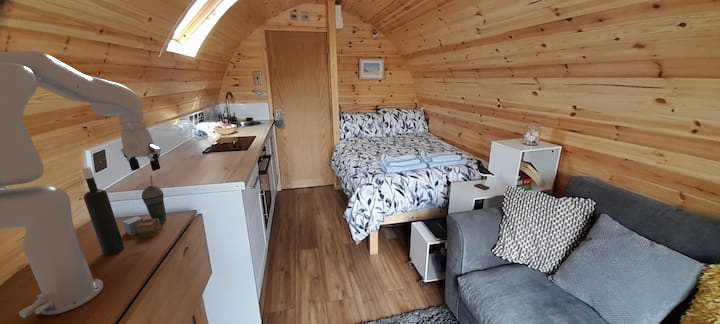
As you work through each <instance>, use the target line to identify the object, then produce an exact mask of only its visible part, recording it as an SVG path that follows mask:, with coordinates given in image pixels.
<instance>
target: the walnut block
mask: <svg viewBox="0 0 720 324" xmlns="http://www.w3.org/2000/svg"><path fill="white" fill-rule="evenodd" d="M161 224H162V223H161ZM161 224H160V221H159V218H156V219H151V218H147V219H144V221H142V222H141V223H140V224H138V225H137V228H138V232H139V233H138V235H139V237H140V238H150V237H149V236H153V237H155V236H156V235H158V234H159V233H160V232H161V231H162V230H163V229H162V225H161ZM160 230H161V231H160ZM159 231H160V232H159ZM158 232H159V233H158ZM157 233H158V234H157Z"/></svg>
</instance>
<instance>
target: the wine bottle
mask: <svg viewBox="0 0 720 324" xmlns="http://www.w3.org/2000/svg"><path fill="white" fill-rule="evenodd" d="M81 169H82V174H83V176H84V177H83V178H84V179H85V181H86V183H87V184H86V185H87V187H88V191H87V192H86V193H84V195H83V200H84V203H85V207H86V209H87V212H88V215H89V217H90V220H91V223H92V226H93V229H94V232H95V235H96V238H97V241H98V244H99V246H100V250H101V252H102V254H103V256H106V257H108V256H113V255H116V254H119V253H120V252H122V251H123V250H125V245H124V242H123V239H122V236H121V233H120V230H119V226H118V223H117V220H116V217H115V214H114V211H113V208H112V204H111V200H110V198H109V195H108V192H107V191H106V190H105V189H99V188H98V187H97V183H96V180H95V176H94V173H93V170H92V168H91V166H85V167H82V168H81Z"/></svg>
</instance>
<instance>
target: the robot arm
mask: <svg viewBox="0 0 720 324" xmlns="http://www.w3.org/2000/svg"><path fill="white" fill-rule="evenodd" d="M38 88H41V89H42V90H46V92H47V91H48V92H50V93H52V94H54V95H57V96H59V97H61V98H65V100H69V101H73V102H79V103H88V104H89V108H90V110H91V111H92V112H93V113H94V114H96V115H98V116H100V117H116V116H117V118H118V119H117V120H118V121H119V125H120V128H121V132H120V138H121V144H122V148H121V149H120V151H121V153H122V154H123V156H124V157H125V159H126V161H128V163H129V167H130V170H131V171H133V172H134V171H137V170H139V169H141V166H140V163H139V160H138V158H144V157H147V158H148V159H149V164H150V167H151V171H152V172H155V171H157V170H160V169H161V164H160V161H159V159H160V156H161V150H162V149H161V148H160V147H159V146H156V145H155V144H154V141H153V139H152V138H153V137H152V136H151V133H150V131H149V129H148V128H147V123H146V121H145V117H144V114H143V107H144V104H143V101H142V99H141V97H140V96H139V95H138V94H137V92H135V91H133V90H132V89H130V88H128V87H127V86H125V85H123V84H120V83H117V82H113V81H110V80H107V79H102V78H99V77H95V76H90V75H86V74H84V73H82V72H80V71H78V70H77V69H75V68H73V67H71V66H70V65H67V64H66V63H64V62H62V61H60V60H58V59H57V58H55V57H53V56H52V55H50V54H48V53H44V52H42V51H41V52H40V51H36V50H21V51H20V50H19V51H18V50H17V51H16V50H15V51H0V230H5V229H14V228H15V229H16V228H25V232H24V236H23V239H22V243H21V244H22V251H23V253H24V255H25V257H26V259H27V261H28V262H27V263H28V264H29V267H30V268H31V271H32V273H33V275H34V277H35V280H36V283H37V285H38V287H39V289H40V291H41V293H39V294H37V295H36V297H37V299H36V300H35V301H33V302H34V303H31V304H30V305H28V306H27V307H25V308H23V309H22V310H20V311H19V312H18V315H19V316H20V317H21V318H23V319H25V318H27V317H29V316H30V315H32V314H34V313H35V314H36V315H39V314H41V315H44V316H46V315H47V316H53V315H58V314H62V313H66V312H68V311H71V310H73V309H76V308H78V307H80V306H82V305H84V304H87V302H89V301H91V300H92V299H94V298H95V297H96V296H97V295H99V293H100V292H101V291H102V290H103V288H104V283H103V280H101V279H99V278H94V277H93V274H92V272H91V270H90V267H89V265H88V262H87V259H86V256H85V253H84V251H83V248H82V245H81V243H80V239H79V238H78V237H79V236H78V234H77V232H76V231H77V230H76V229H75V225H74V221H73V217H72V205H71V204H72V203H71V199H70V196H69V194H68V192H66V191H65V190H64V189H62V188H60V187H58V186H54V185H31V186H20V187H11V188H7V186H15V185H23V184H29V183H32V182H35V181H37V180H39V179H40V178H41V177H42V176H43V174H44V171H45V166H44V164H43V161H42V158H41V156H40V154H39V152H38V150H37V147H36V146H35V143H34V142H33V139H32V137H31V136H30V135H31V134H30V133H29V131H28V129H27V127H26V124H25V119H24V113H25V109H26V107H27V106H28V103H29V101H30V100H31V99H32V97H33V96H34V95H35V93H36V91H37V89H38Z"/></svg>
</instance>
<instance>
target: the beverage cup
mask: <svg viewBox="0 0 720 324" xmlns="http://www.w3.org/2000/svg"><path fill="white" fill-rule="evenodd" d="M149 178H150V179H149V180H150V186H147V187H145V188H144V189H143V191H142V193H141V199H142V202H143V203H144V204H145V207H146V209H147V212H148V214H149V216H150V219H156V218H159V221H160V223H161V224H163V223H162V222H164V221H165V222H166V221H167V216H166V215H167V214H166V208H165V202H164V197H165V196H164V192H163V190H162V189H161V188H160V187H159V186H156V185H154V184H153V175H149ZM165 222H164V223H165Z"/></svg>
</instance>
